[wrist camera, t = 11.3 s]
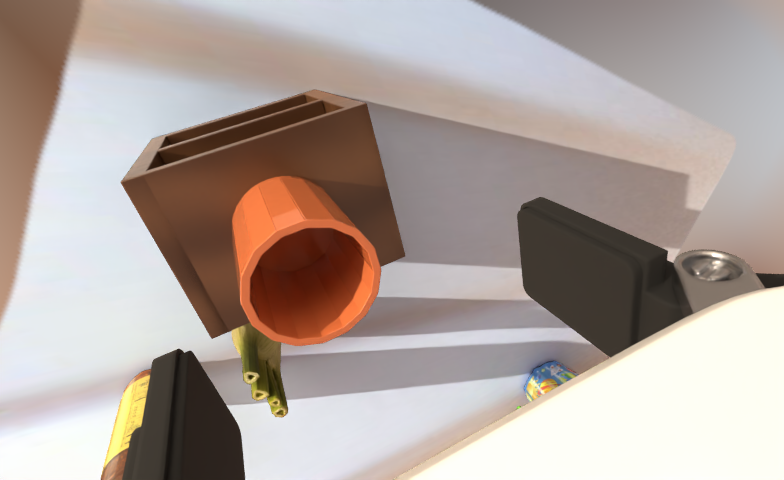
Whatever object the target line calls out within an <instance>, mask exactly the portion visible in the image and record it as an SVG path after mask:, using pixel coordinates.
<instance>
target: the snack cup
mask: <svg viewBox="0 0 784 480" xmlns="http://www.w3.org/2000/svg"><path fill="white" fill-rule="evenodd" d="M576 376H578V374H577V373H575V372H574V371H572V370H570V369H569V368H567V367H565V366H564V365H562V364H560V363H558V362H557V361H552V362H548V363H545V364H543V365H542V366H541V367H538V368H535V369H534V370H533V373H532V375H531V376H530V377H529V378H528V380H527V383H526V385H525V386H524V390H525V393H526V396H527V398H528V400H529V402H531V401H533V400H535V399H537V398H539V397H540V396H542V395H544V394H546V393H547V392H549V391H551V390H553V389H555V388H556V387H558V386H560V385H562V384H564V383H565V382H567V381H569V380H571V379H573V378H575V377H576ZM519 408H521V406H518V407H517V409H519Z"/></svg>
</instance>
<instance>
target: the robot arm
mask: <svg viewBox="0 0 784 480" xmlns="http://www.w3.org/2000/svg"><path fill="white" fill-rule="evenodd" d="M517 219H518V231H519V242H520V254H521V265H522V277H523V286H524V289H525V291H526V293H527V294H528V295H529V296H530V297H531V298H532V299H534V300H535V301H536V302H538V303H539V304H540V305H542V306H543V307H544V308H546V309H547V310H548V311H550V312H551V313H552V314H554V315H555V316H556V317H557V318H559V319H560V320H561V321H563V322H564V323H565V324H567V325H568V326H569V327H571V328H572V329H573V330H575V331H576V332H577V333H579V334H580V335H581V336H583V337H584V338H585V339H587V340H588V341H589V342H591V343H592V344H593V345H595V346H596V347H597V348H599V349H600V350H601V351H603V352H604V353H605V354H607V355H608V356H609V357H611V358H609V359H607V360H605V361H604V362H602V363H600V364H598V365H596V366H594V367H593V368H591V369H589V370H587V371H585V372H584V373H582V374H580V375H578V376H576V377H575V378H573V379H571V380H569V381H567V382H565V383H564V384H562V385H560V386H558V387H556V388H555V389H553V390H551V391H549V392H547V393H546V394H544V395H542V396H540V397H539V398H537V399H535V400H533V401H531V402H530V403H528V404H526V405H524V406H522V407H521V408H519V409H517V410H515V411H513V412H512V413H510V414H508V415H506V416H504V417H503V418H501V419H499V420H497V421H496V422H494V423H492V424H490V425H488V426H487V427H485V428H483V429H481V430H480V431H478V432H476V433H474V434H472V435H471V436H469V437H467V438H465V439H463V440H462V441H460V442H458V443H456V444H455V445H453V446H451V447H449V448H447V449H446V450H444V451H442V452H440V453H439V454H437V455H435V456H433V457H432V458H430V459H428V460H426V461H425V462H423V463H421V464H419V465H417V466H416V467H414V468H412V469H410V470H409V471H407V472H405V473H403V474H402V475H400V476H398V477H396V478H395V479H393V480H784V274H759V273H755V272H754V271H753V270H752V268H751V267H750V265H749V264H748V263H746V262H745V261H744V260H743V259H741V258H739V257H737V256H735V255H732V254H729V253H726V252H721V251H715V250H692V251H688V252H685V253H682V254H680V255H679V256H677V257H676V259H675V261H674V263H672V262H670V261H667V254H668V251H667V250H665V249H662V248H660V247H658V246H655V245H653V244H651V243H648V242H646V241H644V240H641V239H639V238H637V237H634V236H632V235H630V234H627V233H625V232H623V231H620V230H618V229H616V228H613V227H611V226H609V225H606V224H604V223H602V222H599V221H597V220H595V219H592V218H590V217H588V216H585V215H583V214H581V213H578V212H576V211H574V210H571V209H569V208H567V207H564V206H562V205H560V204H557V203H555V202H553V201H550V200H548V199H545V198H543V197H539V198H536V199H534V200H532V201H529V202H527V203H525V204H523V205H522V206H521V209H520V211H519V212H518V214H517ZM122 480H245V472H244V461H243V450H242V439H241V433H240V429H239V426H238V424H237V422H236V420H235V419H234V417H233V416H232V414H231V412H230V411H229V409H228V408H227V406H226V404H225V403H224V401H223V400H222V398H221V396H220V395H219V393H218V392H217V390H216V388H215V387H214V385H213V384H212V382H211V380H210V379H209V377H208V376H207V374H206V372H205V371H204V369H203V368H202V366H201V364H200V363H199V361H198V360H197V358H196V356H195V355H194V353H193V352H192V351H188V352H185V353H184V352H183V351H182V350H181V349H177V350H175V351H172V352H170V353H167V354H165V355H163V356H160V357H158V358H156V359H154V360H153V362H152V368H151V373H150V379H149V385H148V390H147V396H146V402H145V407H144V413H143V419H142V424H141V426H140V427H138V428H136V429H135V430H134V431H133V432H132V435H131V438H130V442H129V447H128V452H127V457H126V462H125V467H124V472H123V477H122Z"/></svg>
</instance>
